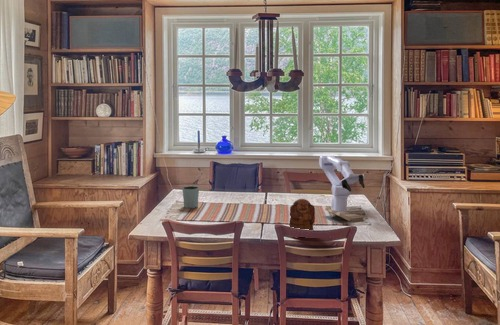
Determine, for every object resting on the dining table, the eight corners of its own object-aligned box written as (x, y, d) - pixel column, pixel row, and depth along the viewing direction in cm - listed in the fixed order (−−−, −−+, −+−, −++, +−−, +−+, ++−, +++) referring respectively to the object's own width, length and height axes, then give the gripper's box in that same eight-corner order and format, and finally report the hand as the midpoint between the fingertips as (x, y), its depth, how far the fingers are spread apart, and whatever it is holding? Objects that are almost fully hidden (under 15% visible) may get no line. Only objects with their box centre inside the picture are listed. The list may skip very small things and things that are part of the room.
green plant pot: (200, 205, 282) (200, 186, 281) (197, 208, 272) (197, 189, 271) (184, 204, 283) (184, 185, 282) (180, 208, 273) (180, 188, 272)
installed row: (336, 215, 260) (337, 212, 260) (348, 214, 263) (348, 211, 263) (351, 221, 247) (351, 218, 247) (363, 220, 250) (363, 217, 249)
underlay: (321, 216, 257) (321, 216, 257) (348, 214, 264) (348, 213, 264) (336, 223, 243) (336, 223, 243) (364, 221, 249) (364, 220, 249)
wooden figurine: (292, 237, 217) (293, 201, 215) (288, 234, 223) (289, 198, 221) (315, 236, 220) (316, 200, 217) (311, 232, 226) (312, 197, 223)
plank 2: (331, 212, 250) (333, 209, 250) (342, 218, 253) (343, 215, 253) (338, 215, 243) (340, 212, 243) (349, 221, 246) (351, 218, 246)
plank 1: (324, 209, 257) (326, 206, 257) (335, 215, 260) (336, 212, 260) (331, 212, 250) (332, 209, 250) (342, 218, 253) (343, 215, 253)
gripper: (335, 172, 256) (343, 186, 244) (360, 165, 256) (369, 179, 245) (336, 182, 260) (344, 196, 248) (360, 175, 260) (370, 189, 249)
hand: (357, 188), depth 247 cm, fingers open, 7 cm apart
